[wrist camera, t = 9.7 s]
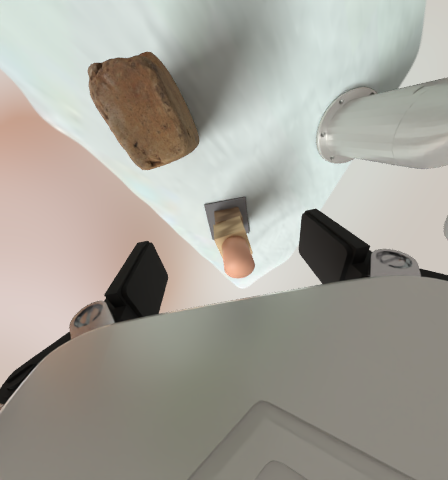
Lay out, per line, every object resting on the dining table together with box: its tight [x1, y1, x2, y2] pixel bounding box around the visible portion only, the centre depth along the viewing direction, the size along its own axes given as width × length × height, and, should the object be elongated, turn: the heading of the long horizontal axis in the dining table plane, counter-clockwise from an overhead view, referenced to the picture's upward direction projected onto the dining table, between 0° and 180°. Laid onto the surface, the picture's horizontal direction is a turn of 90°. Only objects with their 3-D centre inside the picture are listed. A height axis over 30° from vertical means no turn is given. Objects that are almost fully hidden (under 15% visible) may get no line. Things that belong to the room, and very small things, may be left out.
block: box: [88, 52, 199, 170], centre depth 23 cm, size 11×8×20 cm
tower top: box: [213, 216, 252, 258], centre depth 35 cm, size 6×6×6 cm
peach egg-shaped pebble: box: [222, 236, 255, 278], centre depth 30 cm, size 5×5×6 cm
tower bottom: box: [214, 207, 243, 224], centre depth 40 cm, size 6×6×6 cm
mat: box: [204, 197, 249, 240], centre depth 43 cm, size 10×10×1 cm
